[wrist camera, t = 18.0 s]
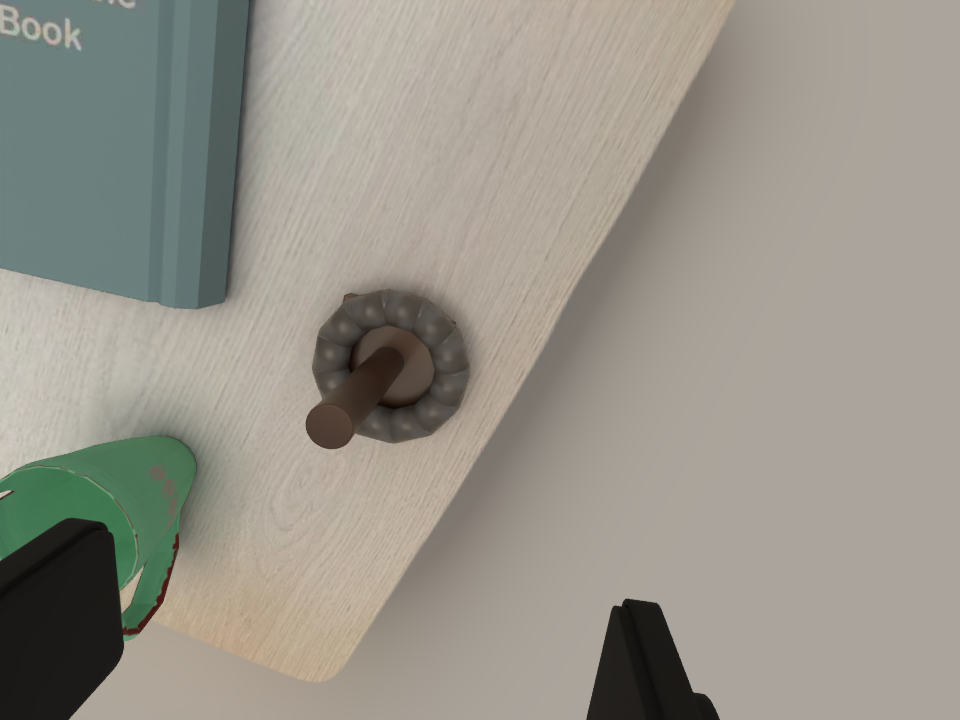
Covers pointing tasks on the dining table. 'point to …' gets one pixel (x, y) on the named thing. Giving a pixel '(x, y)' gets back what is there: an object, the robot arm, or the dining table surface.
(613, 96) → the dining table surface
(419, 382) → the post
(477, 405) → the dining table surface
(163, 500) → the mug
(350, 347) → the segmented grey ring
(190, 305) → the book
